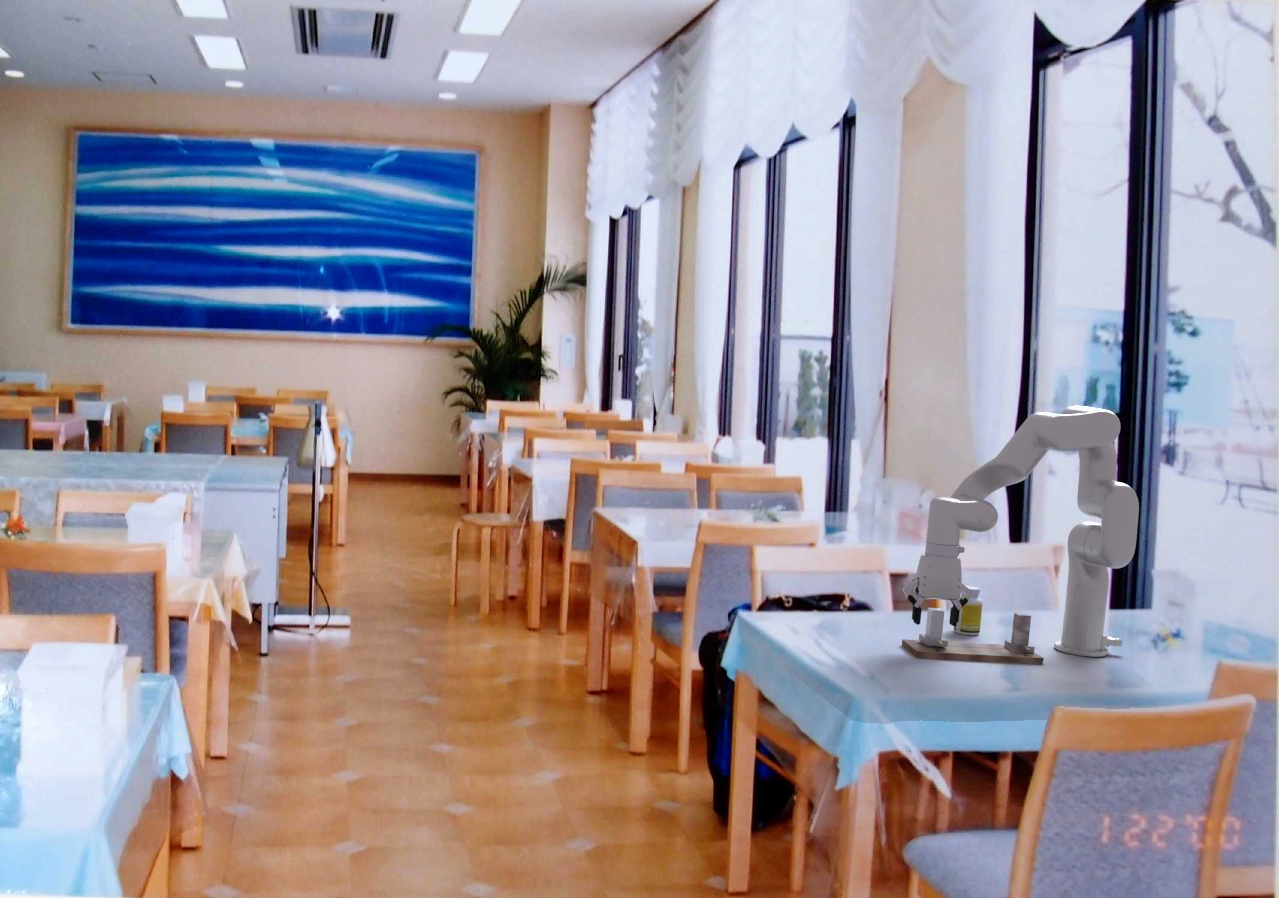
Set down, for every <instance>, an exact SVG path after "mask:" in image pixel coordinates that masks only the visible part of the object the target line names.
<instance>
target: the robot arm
mask: <svg viewBox="0 0 1279 898" xmlns="http://www.w3.org/2000/svg"><path fill="white" fill-rule="evenodd" d="M1121 427H1122V426H1121V422H1120V418H1119V417H1118V416H1117V415H1116V413H1114V412H1113V411H1110V410H1109V409H1103V408H1097V407H1091V406H1083V405H1073V406H1068V407H1065V409H1063V410H1062V412H1061V413H1060V414H1059V413H1054V412H1053V413H1051V412H1043V411H1042V412H1041V411H1039V412H1037V411H1036V412H1034V413H1032V414H1031V415H1029V416H1028V417H1027V418H1026V419H1025V420H1024V421H1023V423H1022V424H1021V425H1020V426H1019V428H1018V429H1017V430H1016V432H1015V433H1014V434H1013V435H1012V436H1011V438H1010V439H1009V440H1008V442H1007V443H1006V444H1005V445H1004V446H1003V448H1002V449H1001V451H999V453H998V454H997V455H996V456H995V457H994V458H992V459H990V460H988V461H987V462H986V463H985V464H983V465H981V466H980V467H979V468H977V469H975V470H974V471H973V472H972V473H970V474H969V475H968V476H967V477H965V478H964V480H963V481H962V482H961V483H960V484H959V485H958V487H957V488H956V489H955V490H954V492H952V494H951V496H950V497H948V496H945V497H944V496H936V497H933V498H931V500H930V502H929V508H928V509H929V510H928V519H927V528H926V530H927V531H926V538H925V539H926V542H925V553H922V554H921V555H920V558H919V561H918V566H917V569H916V574H915V575H916V576H915V579H914V580H913V581H911V582H910V583H907V584H906V585H904V586H903V587H902V592H903V593H904V595H905V597H906V599H907V600H908V602H909V603H910V604H911V605H912V611H911V612H912V614H911V620H912V621H913V623H915V625H921V618H922V611H923V609H922V607H921V605H922V604H923V602H924V601H925V600H926V599H928V600H943V601H946V600H947V601H950V603H951V604H952V606H951V607H950V613H949V620H948V621H949V622H948V623H949V624H950V626H953V628H954V627H956V626H957V622H959V613H960V610H961V609H962V607H963V606H964V605H965V604H967V603H968V600H969V599H970V598H971V597H972V596H973V594H974V593H973V592H972V591H971V590H970V589H968V588H967V587H966V586H967V585H966V584H963V582H962V581H963V576H962V575H963V574H962V573H963V572H962V562H961V561H962V560H961V557H959V556H960V554H961V553H962V554H964V552H965V547H964V546H961V545H960V537H961V531H962V530H965V531H971V532H977V533H983V532H984V533H985V532H988V531H990V530H992V529H994V527H995V526H996V524H997V523H998V520H999V513H998V511H997V508H996V507H995V506H994V505H993V504H992V503H990V501H987V500H986V499H987V498H988V497H989V496H990V495H992V494H993V493H994V492H996V491H998V490H999V489H1002V488H1004V487H1008V486H1009V487H1010V486H1011V485H1015V484H1018V483H1020V482H1023V481H1024V480H1026V479H1027V478H1028V477H1029V476H1030V474H1031V473H1032V472H1033V470H1034V469H1035V468H1036V466H1038V464H1039V463H1040V461H1041V460H1042V459H1043V458H1044V457H1045V455H1046V454H1047V453H1048V452H1049V451H1055V452H1073V451H1077V452H1078V456H1079V471H1078V472H1079V473H1078V483H1077V497H1076V498H1077V499H1076V500H1077V506H1078V509H1079V510H1080V512H1082V513H1083V514H1085V515H1087V516H1089V517H1093V518H1096V519H1100V520H1101V523H1100V522H1095V521H1082V522H1080V523H1078V524H1076V525H1075V526H1073V527H1072V529H1071V530H1070V531H1069V534H1068V536H1067V555H1068V556H1067V557H1068V576H1067V584H1066V591H1065V592H1066V593H1065V601H1064V602H1065V604H1064V612H1063V622H1062V629H1061V631H1062V632H1061V639H1060V640H1056V641H1055V642H1053V643H1054V644H1053V645H1054V646H1053V647H1054V649H1055V650H1057V651H1059V652H1062V653H1066V654H1069V655H1075V656H1081V657H1091V658H1093V657H1094V658H1098V657H1100V658H1101V657H1106V656H1108V655H1109V649H1108V648H1109V647H1110V646H1112V647H1122V645H1123V639H1122V638H1116V637H1115V638H1113V637H1112V636H1108V635H1105V634H1104V631H1105V623H1106V615H1107V614H1106V612H1107V605H1108V595H1109V585H1110V577H1109V569H1121V568H1124V567H1126V566H1127V565H1128V564H1130V562H1131V561H1132V559H1133V557H1134V555H1135V553H1136V552H1135V551H1136V546H1137V537H1138V536H1137V535H1138V525H1139V512H1140V506H1139V505H1140V502H1139V498H1138V496H1137V493H1136V492H1135V490H1134V488H1132V487H1131V486H1130V485H1129V484H1126V483H1124V482H1120V481H1117V466H1118V465H1117V463H1118V462H1117V461H1118V459H1117V457H1118V456H1117V451H1116V448H1115V445H1114V443H1113V442H1115V440H1117V438H1118V437H1119V436H1120V432H1121ZM1108 568H1109V569H1108ZM912 590H913V592H914V593H915V594H916V595H915V596H913V594H912ZM961 590H962V591H964V592H965V595H964V596H963V597H962V598H961V599H960V600H958V599H959V598H960V596H961V594H962V593H961Z"/></svg>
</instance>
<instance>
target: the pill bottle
mask: <svg viewBox="0 0 1279 898" xmlns="http://www.w3.org/2000/svg"><path fill="white" fill-rule="evenodd" d="M965 586H966V587H967V588H968V589H970V590H971V591H972V592H973V593H974V594H973V596H972V597H971V598H970V599H969V600H968V603H967V604H965V605H964V606H963V607H962V609H961V610H960V613H959V622H957V626H956V627H954V626H953V631H954V633H956V634H959V635H962V636H963V635H964V636H977V635H979V634H981V633H980V632H981V623H982V614H983V613H982V611H983V599H981V598H980V597H979V595H980V593H981V588H979V587H977V586H972V585H965ZM964 595H965V592H964V591H962V590H961V595H960V598H959V599H958V600H960V599H961V598H962V597H963V596H964Z"/></svg>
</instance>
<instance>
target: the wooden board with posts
mask: <svg viewBox="0 0 1279 898" xmlns="http://www.w3.org/2000/svg"><path fill="white" fill-rule="evenodd" d="M1031 621H1032V615H1030V614H1028V613H1027V612H1014V614H1013V621H1012V631H1011V639H1005V640H1004V644H997V643H980V642H961V641H960V642H958V641H948V646H947V647H937V646H926V645H925V644H923V643H922V642H921V641H919V639H906V638H905V639H903V638H902V640H901V646H902V647H903V648H904V649H905V650H906V651H907V652H909V653H910V654H911V655H912V656H913V657H915V658H916V659H927V660H928V659H929V660H930V659H931V660H946V661H947V660H948V661H949V660H950V661H970V662H973V661H974V662H985V663H987V662H988V663H990V662H992V663H1007V664H1008V663H1010V664H1027V665H1028V664H1029V665H1044V658H1045V657H1043V656H1041V655H1040V654H1038V653H1036V652H1035V648H1036V647H1035V646H1034V645H1033V644H1031V643H1029V642H1030V633H1031V632H1030V631H1031V624H1032V623H1031Z"/></svg>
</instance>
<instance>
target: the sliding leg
mask: <svg viewBox="0 0 1279 898" xmlns="http://www.w3.org/2000/svg"><path fill="white" fill-rule="evenodd" d="M944 620H945V610H943V609H942V608H941V607H939V608H938V607H927V616H926V626H925V633H919V634H918V635H919V636H918V640H919V641H921V642H922V643H923V644H925V645H926V646H937V647H947V646H948V642H949V640H948V639H946V638H944V636H943V630H944Z"/></svg>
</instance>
